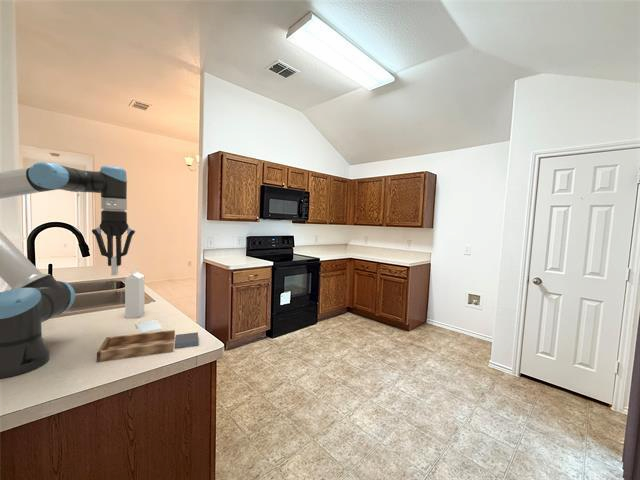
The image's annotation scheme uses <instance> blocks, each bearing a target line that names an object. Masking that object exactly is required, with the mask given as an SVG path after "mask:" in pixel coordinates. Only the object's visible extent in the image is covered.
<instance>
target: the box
mask: <svg viewBox="0 0 640 480" xmlns="http://www.w3.org/2000/svg"><path fill="white" fill-rule="evenodd" d="M175 332H176V331H175V329H171V330H163V331H162V330H158V331H151V332H147V333H141V332H140V333H134V334H133V333H131V334H124V335H118V336H117V335H116V336H108V337H106V338H105V339H104V341H103V342H102V344H101V345H100V347H99V349H98V350H97V352H96V363H102V362H108V361H115V360H121V359H129V358H137V357H143V356H144V357H145V356H151V355H152V356H153V355H159V354H165V353H172V352H174V349H175V336H176V333H175Z"/></svg>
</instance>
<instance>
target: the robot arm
mask: <svg viewBox="0 0 640 480" xmlns="http://www.w3.org/2000/svg"><path fill="white" fill-rule="evenodd" d="M127 177H128V176H127V170H126V169H124V168H122V167H118V166H114V165H113V166H111V165H102V166H100V170H99V171H96V170H95V171H93V170H83V169H78V168H74V167H69V166H66V165H62V164H58V163H55V162H48V161H40V162H39V161H38V162H36V163H34V164H33V165H30V167H23V168H16V169H9V170H1V171H0V199H6V198H11V197H20V196H25V195H30V194H36V193H37V194H38V193H42V192H43V193H45V192H49V191H56V190H61V191H67V192H71V193H72V192H73V193H94V194H95V193H96V194H100V208H101V211H100V214H101V215H100V220H101V221H100V224H99V226H98V227H96V228H94V229H92V230H91V233H92V234H93V235H94V237H95V240H96V242H97V245H98V248H99V251H100V255H101V257H102V256H103V257H106V258H107V266H108V267H111V268H110V269H111V270H110V271H111V273H110V276H118V274H119V267H120V266H121V265H122V257H124V256H126V255H128V252H129V249H130V245H131V242H132V238H133V236H134V235H135V233H136V230H135V229H133V228H130V227H129V224H128V212H126V211H127V210H128V200H127V197H128V196H127V195H128V194H127V190H128V187H127V186H128V178H127ZM102 232H103V233H104V234H105V235H106V239H107V240H106V241H107V242H106V243H107V245H105V243H104V239H103V236H102ZM125 232H126V235H127V236H126V239H125V243H124V247H123V249H122V237H123V236H124V234H125ZM114 237H115V256H114ZM106 246H107V248H106ZM0 279H2V280H3V281H4V282H5V284H7V285H8V286H9V287H10V288H11V289H10V290H4V291H1V292H0V379H4V378H11V377H13V376H18V375H22V374H25V373H28V372H31V371H33V370H36V369H38V368H39V367H42V366H43V365H45V364H47V362H49V360H50V359H51V356H50V355H51V351H50V349H49V347H48V346H47V344H46V342H45V340H44V338H43V335H42V333H43V332H42V323H44V322H46V321H49V320H50V319H52V318H53V317H56V316H59V315H61V314H62V313H65V311H67V310H68V309H70V308H71V306H73V304H74V302H75V299H76V292H75V291H76V290H74V288H73V286H72V285H71V284H70V283H68V282H67V281H62V280H61V281H60V280H56V278H54V276H52V275H51V274H50V273H43V272H41V271H40V270H39V269H38V268H37V267H36V266H35V264H33V263H32V262H31V260H29V258H27V256H25V254H24V253H22V251H21V250H20V249H19V248H17V246H16V245H15V244H14V243H13V242H12V241H11V240H10V239H9V238H8V237H7V236H6V234H4V233H3V232H2V230H0Z"/></svg>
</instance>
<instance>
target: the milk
mask: <svg viewBox="0 0 640 480" xmlns="http://www.w3.org/2000/svg"><path fill="white" fill-rule="evenodd" d="M124 294H125V295H124V299H125V300H124V305H125V307H124V308H125V309H124V313H125V317H124V318H125V319H138V318H141V317H142V316H143V315H145V275H144V274H142V273H140V272H138V269H135V270H133V271H132V272H131V275H129V276H127V277H126V278H124Z"/></svg>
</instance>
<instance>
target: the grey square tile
mask: <svg viewBox="0 0 640 480" xmlns="http://www.w3.org/2000/svg"><path fill="white" fill-rule="evenodd" d="M199 342H200V341H199V332H198V331H197V332H189V333H188V332H187V333H182V334H175V339H174V349H175V350H177V349H183V348H189V347H198V346H199Z"/></svg>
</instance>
